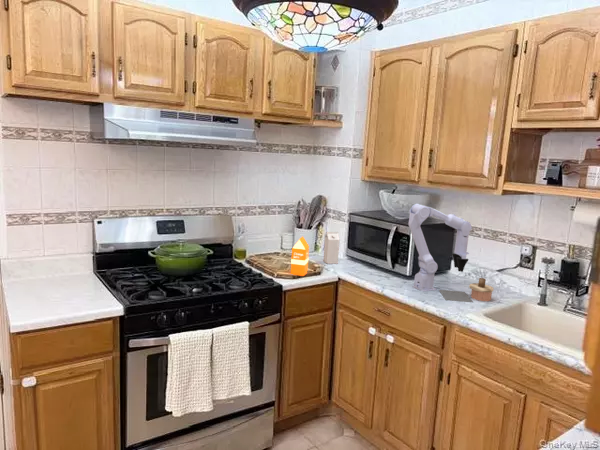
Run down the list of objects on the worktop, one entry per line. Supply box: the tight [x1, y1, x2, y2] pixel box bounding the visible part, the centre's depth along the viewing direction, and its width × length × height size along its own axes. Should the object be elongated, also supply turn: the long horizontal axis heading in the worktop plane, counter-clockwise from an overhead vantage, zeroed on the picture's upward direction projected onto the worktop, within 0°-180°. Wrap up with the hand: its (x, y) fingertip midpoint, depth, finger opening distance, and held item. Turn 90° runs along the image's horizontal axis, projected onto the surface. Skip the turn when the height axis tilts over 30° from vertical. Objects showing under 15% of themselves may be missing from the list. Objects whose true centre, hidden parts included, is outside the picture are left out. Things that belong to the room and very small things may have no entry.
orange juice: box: [290, 236, 310, 277], centre depth 244 cm, size 8×9×20 cm
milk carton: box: [323, 231, 341, 265], centre depth 271 cm, size 7×7×19 cm
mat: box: [438, 289, 474, 303], centre depth 219 cm, size 13×16×1 cm
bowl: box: [470, 289, 493, 302], centre depth 218 cm, size 9×9×5 cm
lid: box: [468, 277, 495, 293], centre depth 217 cm, size 11×11×5 cm
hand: (458, 269), depth 231 cm, fingers open, 7 cm apart
